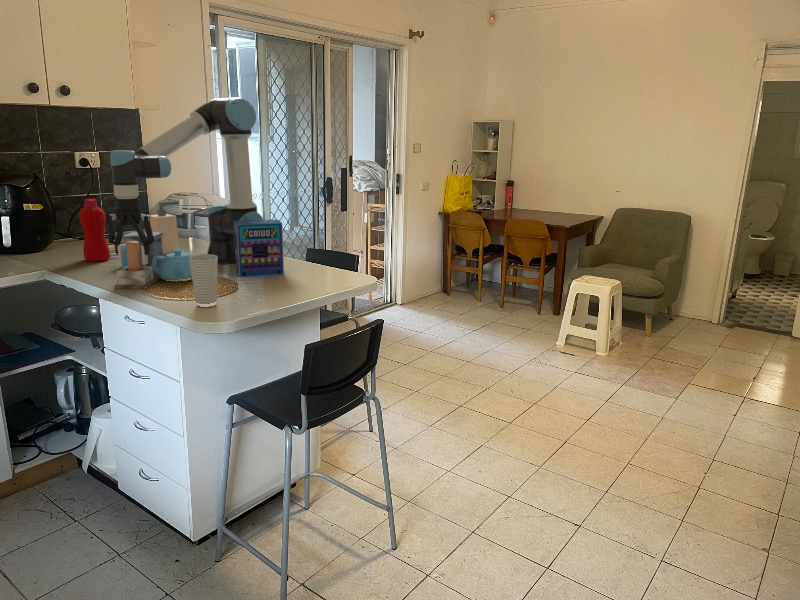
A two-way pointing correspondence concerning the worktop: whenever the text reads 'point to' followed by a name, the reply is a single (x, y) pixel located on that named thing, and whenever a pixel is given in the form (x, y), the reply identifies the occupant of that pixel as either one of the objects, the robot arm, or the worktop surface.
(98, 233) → the water bottle
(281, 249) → the box
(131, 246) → the peg
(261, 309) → the worktop surface
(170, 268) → the teapot
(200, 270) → the cup
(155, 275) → the socket station
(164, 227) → the soap dispenser
